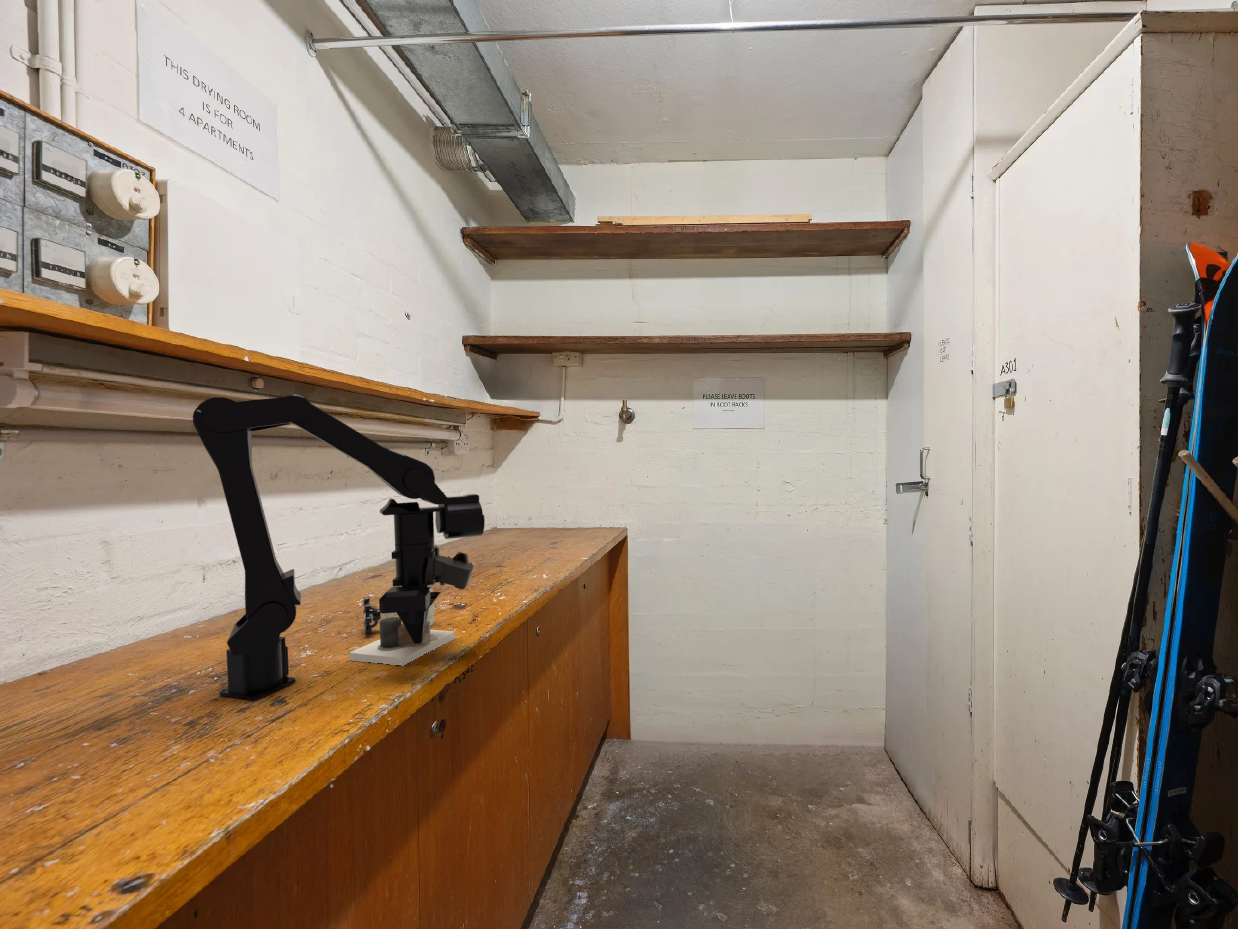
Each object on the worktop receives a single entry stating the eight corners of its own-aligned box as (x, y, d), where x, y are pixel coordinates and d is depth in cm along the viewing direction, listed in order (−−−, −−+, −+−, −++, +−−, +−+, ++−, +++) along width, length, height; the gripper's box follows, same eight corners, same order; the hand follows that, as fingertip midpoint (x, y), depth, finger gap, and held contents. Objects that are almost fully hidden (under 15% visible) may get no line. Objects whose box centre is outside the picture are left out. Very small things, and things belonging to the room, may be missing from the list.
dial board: (403, 666, 84) (402, 657, 84) (349, 660, 87) (349, 651, 87) (455, 638, 96) (454, 630, 96) (406, 634, 100) (406, 626, 99)
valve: (432, 619, 109) (363, 630, 103) (431, 585, 109) (362, 594, 103) (438, 628, 103) (366, 640, 97) (436, 592, 103) (364, 602, 97)
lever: (378, 648, 88) (377, 623, 88) (382, 641, 91) (381, 618, 91) (428, 643, 89) (427, 619, 89) (431, 637, 92) (430, 614, 92)
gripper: (459, 549, 79) (463, 660, 79) (475, 531, 97) (478, 621, 98) (376, 553, 77) (380, 667, 78) (408, 534, 96) (411, 626, 96)
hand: (418, 643), depth 87 cm, fingers closed
